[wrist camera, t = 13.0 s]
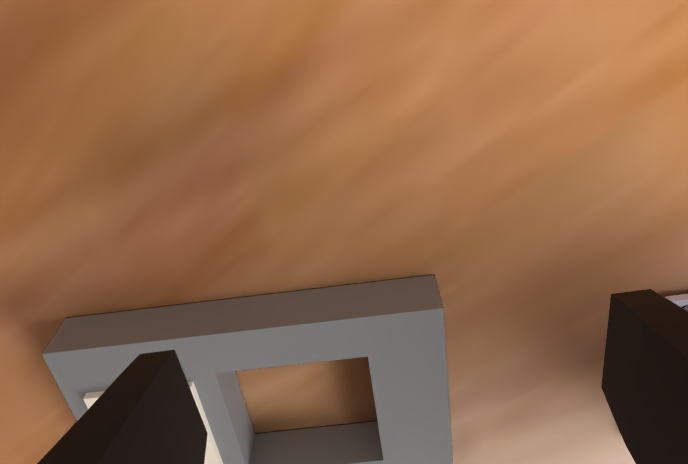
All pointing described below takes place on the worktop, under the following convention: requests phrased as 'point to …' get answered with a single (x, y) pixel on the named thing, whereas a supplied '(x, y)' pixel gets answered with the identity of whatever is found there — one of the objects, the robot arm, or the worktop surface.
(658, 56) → the worktop surface
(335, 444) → the board
